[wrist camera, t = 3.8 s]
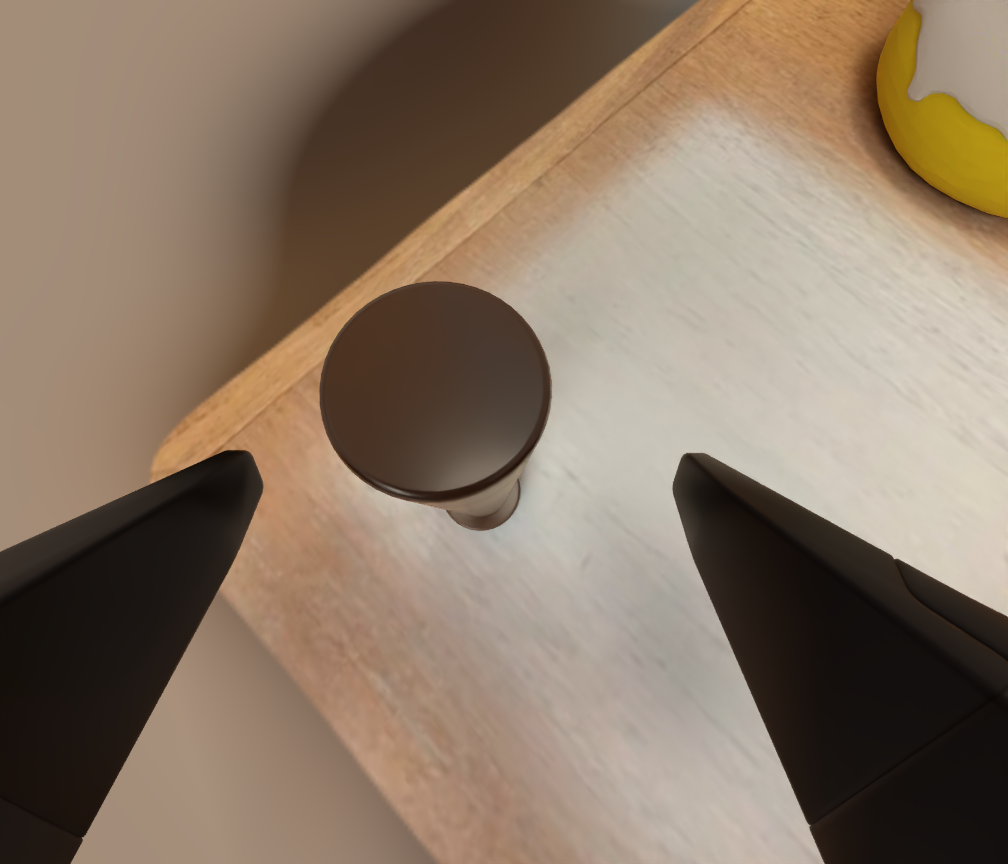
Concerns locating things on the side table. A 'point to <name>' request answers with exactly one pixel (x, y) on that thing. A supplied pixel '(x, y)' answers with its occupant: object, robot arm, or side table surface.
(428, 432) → the stirring stick
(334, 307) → the side table surface
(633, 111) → the side table surface
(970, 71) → the donut
